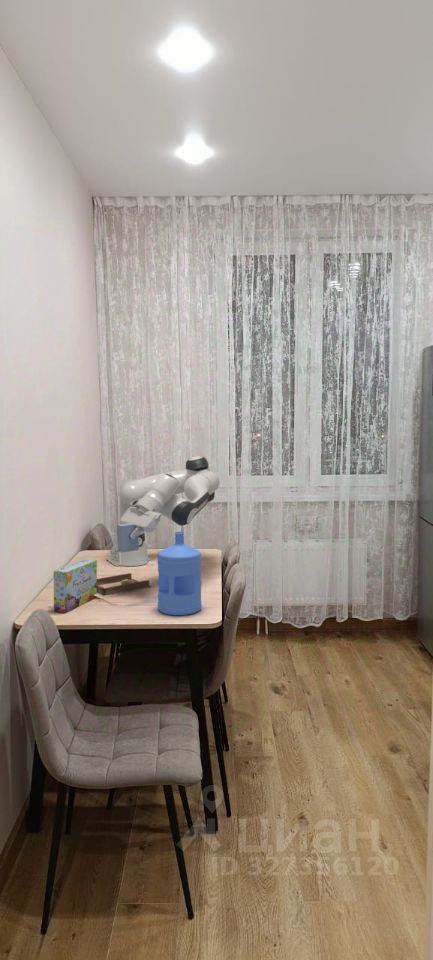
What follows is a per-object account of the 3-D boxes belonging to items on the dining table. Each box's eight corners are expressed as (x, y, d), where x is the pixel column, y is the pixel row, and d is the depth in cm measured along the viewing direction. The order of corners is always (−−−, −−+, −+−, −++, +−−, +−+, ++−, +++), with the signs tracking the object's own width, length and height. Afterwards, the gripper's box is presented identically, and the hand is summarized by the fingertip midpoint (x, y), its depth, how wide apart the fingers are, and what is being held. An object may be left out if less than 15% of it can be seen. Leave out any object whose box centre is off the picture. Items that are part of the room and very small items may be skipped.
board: (117, 551, 241) (116, 524, 240) (133, 548, 246) (133, 522, 245) (122, 552, 239) (121, 526, 238) (138, 549, 243) (137, 523, 242)
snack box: (66, 613, 226) (65, 571, 224) (53, 612, 228) (52, 570, 226) (98, 597, 245) (97, 558, 244) (85, 596, 247) (84, 557, 246)
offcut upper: (121, 585, 257) (121, 580, 257) (126, 583, 260) (126, 579, 260) (132, 587, 254) (132, 582, 254) (137, 585, 257) (137, 580, 257)
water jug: (170, 601, 241) (169, 527, 238) (208, 605, 235) (208, 530, 232) (150, 613, 226) (149, 535, 223) (190, 618, 220) (190, 538, 217)
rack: (86, 590, 255) (86, 580, 254) (132, 582, 267) (132, 572, 267) (103, 599, 243) (103, 589, 242) (151, 590, 255) (151, 580, 255)
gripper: (168, 516, 240) (147, 546, 235) (140, 510, 256) (119, 538, 251) (158, 506, 237) (136, 535, 232) (130, 500, 253) (109, 528, 248)
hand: (127, 537), depth 242 cm, fingers closed on board, 3 cm apart
